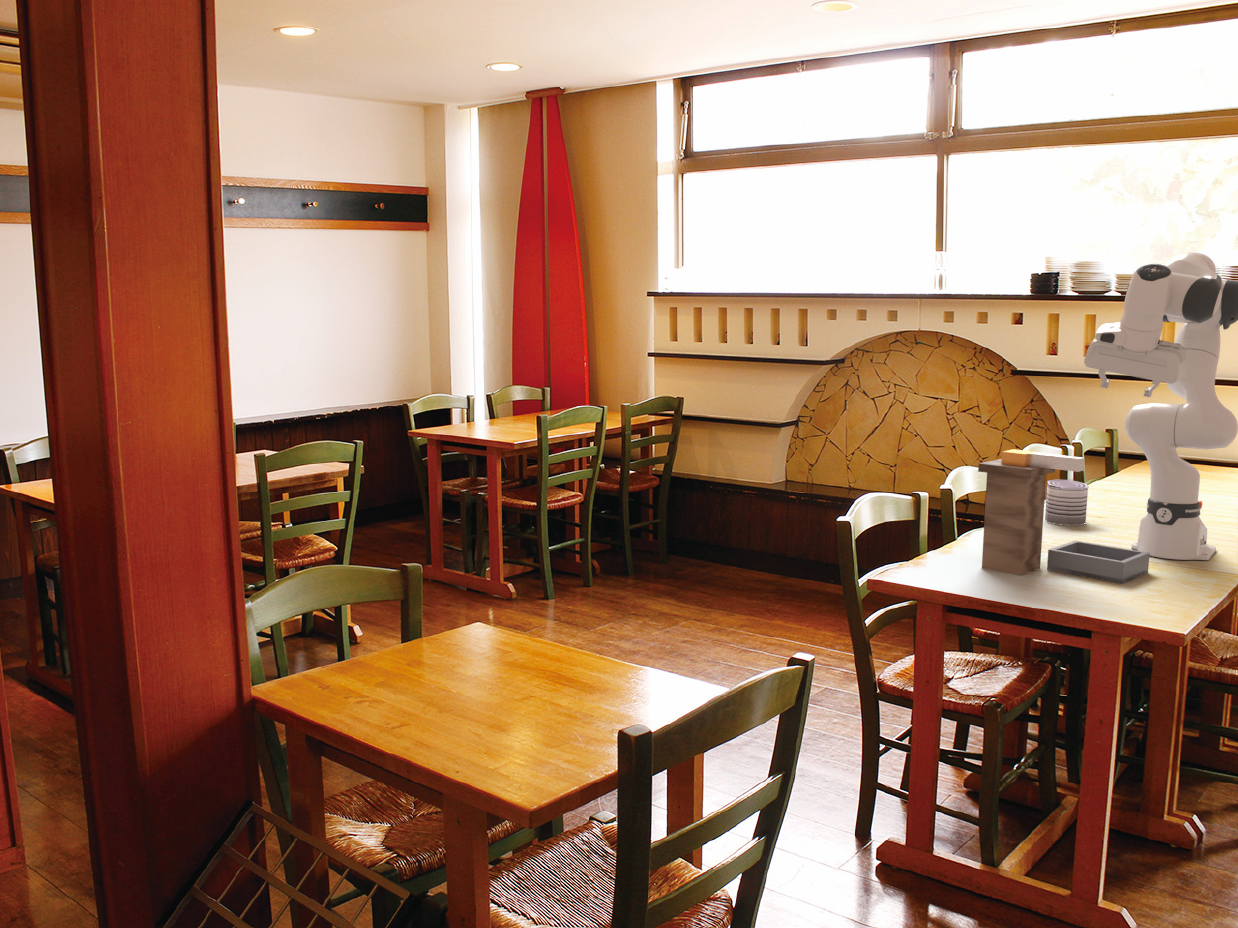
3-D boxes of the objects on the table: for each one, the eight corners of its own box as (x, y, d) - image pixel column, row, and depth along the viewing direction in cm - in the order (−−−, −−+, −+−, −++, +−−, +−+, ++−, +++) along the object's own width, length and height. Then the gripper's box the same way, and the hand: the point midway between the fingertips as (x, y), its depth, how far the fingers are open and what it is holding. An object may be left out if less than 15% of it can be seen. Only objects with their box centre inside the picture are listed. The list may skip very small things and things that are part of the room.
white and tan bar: (1001, 463, 255) (1002, 451, 255) (1013, 461, 259) (1013, 449, 259) (1075, 472, 242) (1076, 459, 241) (1086, 469, 246) (1087, 457, 246)
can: (1080, 519, 320) (1083, 480, 318) (1090, 526, 309) (1093, 486, 307) (1040, 517, 322) (1043, 478, 320) (1049, 525, 311) (1051, 485, 309)
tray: (1074, 559, 268) (1075, 540, 267) (1148, 572, 255) (1149, 552, 254) (1047, 569, 258) (1048, 549, 257) (1122, 583, 245) (1124, 562, 244)
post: (998, 559, 268) (1004, 458, 264) (1048, 568, 259) (1055, 464, 255) (973, 567, 259) (978, 463, 256) (1023, 577, 250) (1030, 469, 246)
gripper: (1191, 340, 237) (1176, 396, 244) (1095, 323, 247) (1084, 377, 254) (1186, 350, 233) (1171, 406, 239) (1088, 332, 243) (1077, 386, 250)
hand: (1125, 391), depth 247 cm, fingers open, 8 cm apart
